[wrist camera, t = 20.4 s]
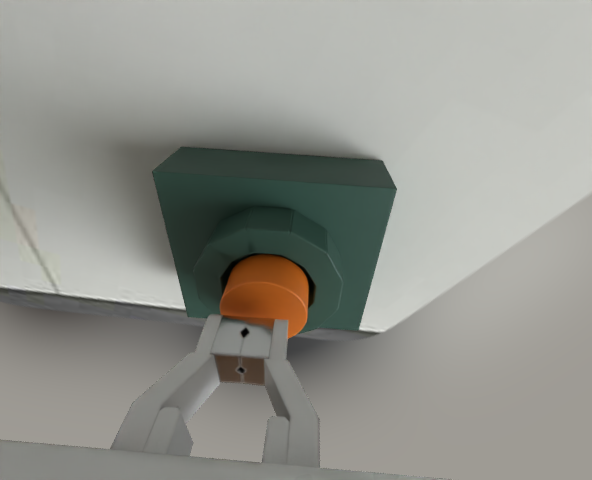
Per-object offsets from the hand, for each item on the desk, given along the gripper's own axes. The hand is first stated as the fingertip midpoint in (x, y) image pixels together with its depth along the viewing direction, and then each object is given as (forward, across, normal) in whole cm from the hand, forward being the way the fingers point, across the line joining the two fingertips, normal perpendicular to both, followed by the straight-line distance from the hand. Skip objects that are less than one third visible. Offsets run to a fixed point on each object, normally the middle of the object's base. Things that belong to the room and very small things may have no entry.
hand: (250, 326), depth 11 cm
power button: (+2, 0, 0) cm, 2 cm away
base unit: (+7, 0, 0) cm, 7 cm away
